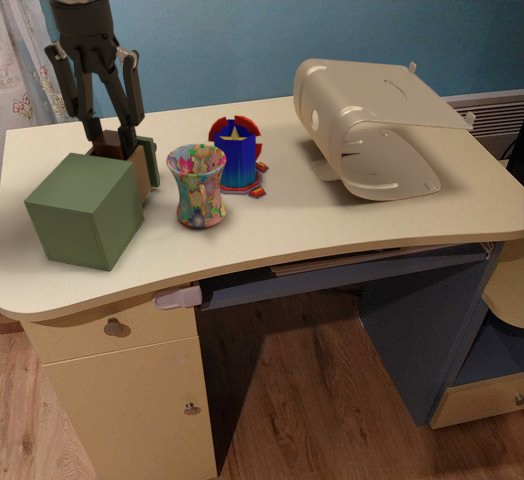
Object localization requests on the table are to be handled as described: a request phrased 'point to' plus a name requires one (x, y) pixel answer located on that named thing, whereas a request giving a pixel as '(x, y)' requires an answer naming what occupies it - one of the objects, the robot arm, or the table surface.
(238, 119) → the fantasy tower
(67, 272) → the table surface
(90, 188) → the cabinet
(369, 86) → the laptop stand
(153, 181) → the drawer
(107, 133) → the block
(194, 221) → the mug
